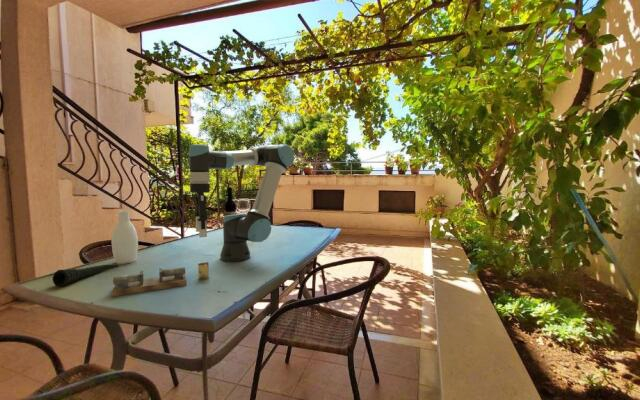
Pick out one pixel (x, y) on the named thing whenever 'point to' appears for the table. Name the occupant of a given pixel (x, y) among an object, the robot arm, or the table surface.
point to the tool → (77, 274)
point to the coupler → (203, 270)
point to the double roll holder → (149, 281)
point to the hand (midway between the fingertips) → (201, 234)
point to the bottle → (124, 240)
